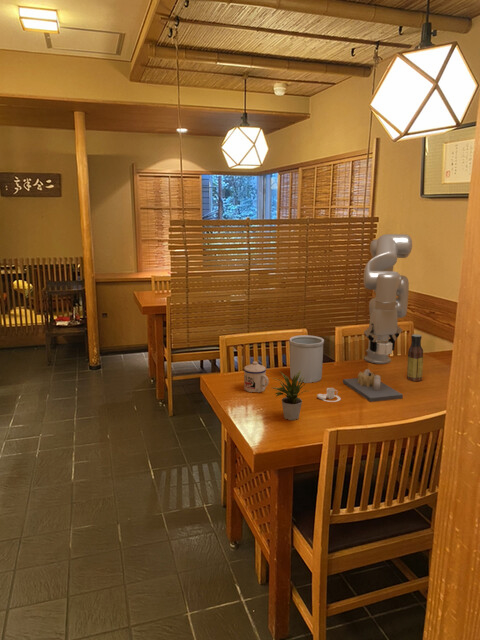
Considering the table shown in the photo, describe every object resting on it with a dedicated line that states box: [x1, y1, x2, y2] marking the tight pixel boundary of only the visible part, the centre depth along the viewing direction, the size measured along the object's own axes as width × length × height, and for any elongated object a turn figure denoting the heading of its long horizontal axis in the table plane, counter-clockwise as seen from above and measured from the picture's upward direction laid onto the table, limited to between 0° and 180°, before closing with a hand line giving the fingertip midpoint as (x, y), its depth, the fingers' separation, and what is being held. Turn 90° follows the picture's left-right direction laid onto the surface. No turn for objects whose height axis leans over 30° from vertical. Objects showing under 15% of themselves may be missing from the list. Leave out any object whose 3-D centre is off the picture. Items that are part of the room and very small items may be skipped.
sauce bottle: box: [406, 333, 424, 382], centre depth 197 cm, size 7×6×20 cm
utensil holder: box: [289, 334, 325, 384], centre depth 199 cm, size 15×15×18 cm
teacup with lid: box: [243, 361, 270, 393], centre depth 184 cm, size 12×9×12 cm
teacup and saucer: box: [316, 387, 342, 403], centre depth 177 cm, size 9×8×4 cm
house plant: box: [272, 371, 311, 421], centre depth 160 cm, size 14×14×16 cm
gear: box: [373, 340, 393, 356], centre depth 178 cm, size 7×7×4 cm
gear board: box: [342, 368, 404, 403], centre depth 185 cm, size 22×14×8 cm, turn 15°
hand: (382, 350), depth 179 cm, fingers closed on gear, 7 cm apart
